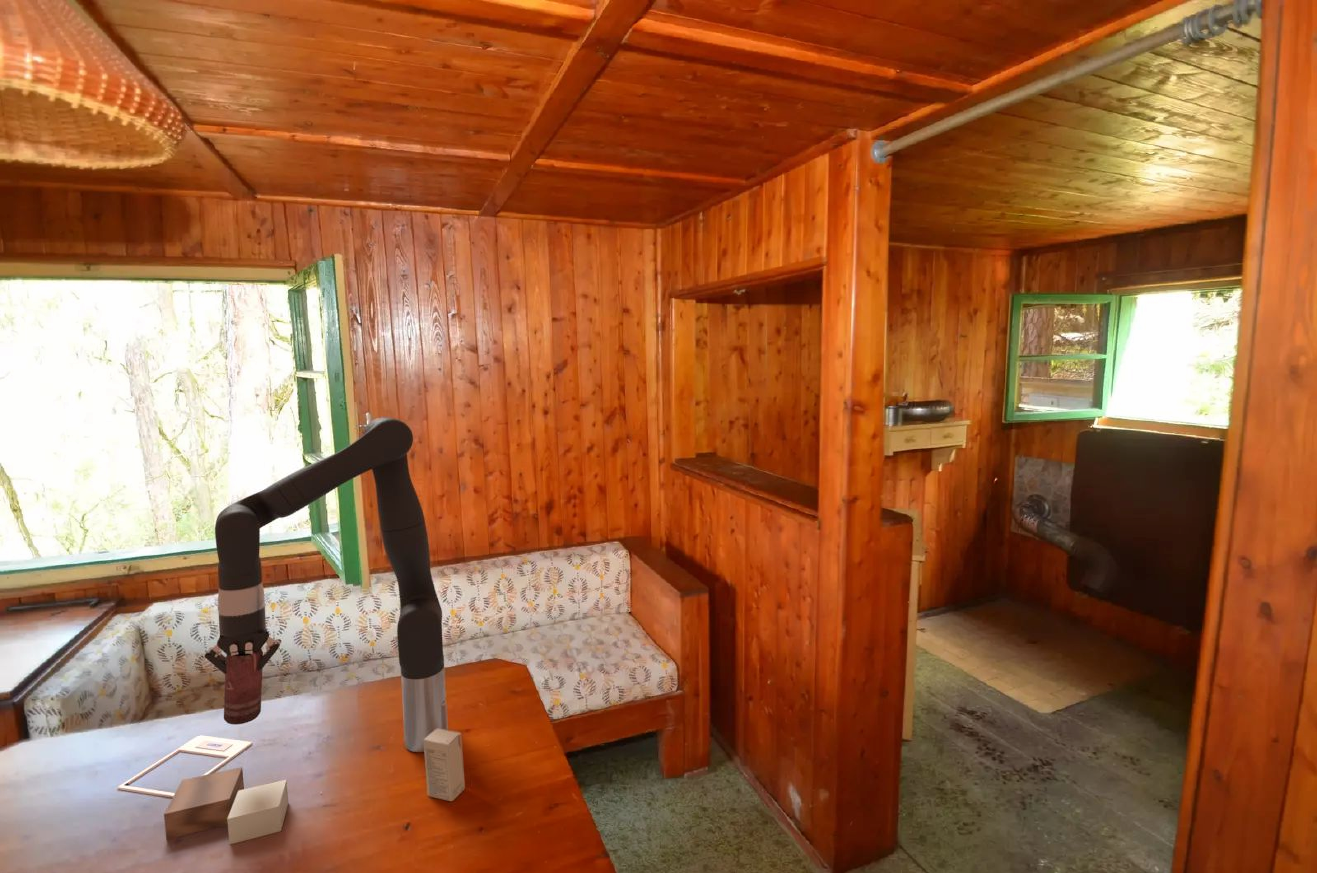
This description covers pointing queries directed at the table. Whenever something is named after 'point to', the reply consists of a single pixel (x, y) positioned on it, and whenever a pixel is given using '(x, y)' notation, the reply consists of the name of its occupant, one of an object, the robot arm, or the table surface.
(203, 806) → the walnut block
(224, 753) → the photo frame
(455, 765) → the skincare box
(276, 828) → the cream block
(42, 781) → the table surface
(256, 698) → the can
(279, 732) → the table surface
